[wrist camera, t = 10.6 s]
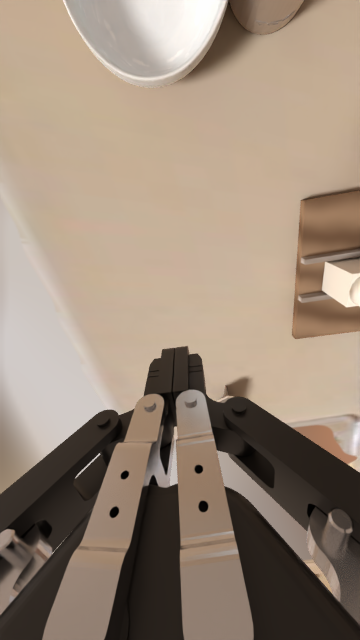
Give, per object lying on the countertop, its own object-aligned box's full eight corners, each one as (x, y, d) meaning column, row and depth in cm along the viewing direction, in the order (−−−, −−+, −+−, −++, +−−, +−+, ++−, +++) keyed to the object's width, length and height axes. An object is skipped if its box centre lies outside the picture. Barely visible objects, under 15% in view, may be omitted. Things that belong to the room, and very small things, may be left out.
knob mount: (300, 200, 36) (329, 201, 29) (400, 183, 34) (455, 179, 27) (292, 334, 47) (311, 359, 40) (366, 325, 45) (400, 349, 38)
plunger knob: (325, 261, 38) (362, 278, 30) (357, 256, 38) (404, 272, 30) (321, 290, 40) (355, 313, 32) (352, 286, 40) (394, 308, 32)
